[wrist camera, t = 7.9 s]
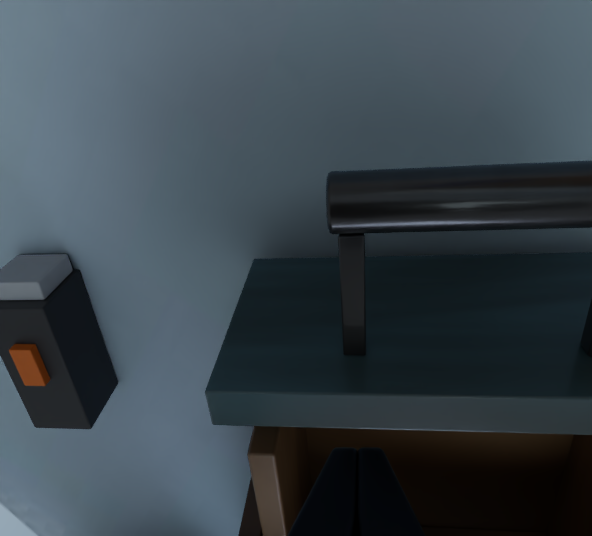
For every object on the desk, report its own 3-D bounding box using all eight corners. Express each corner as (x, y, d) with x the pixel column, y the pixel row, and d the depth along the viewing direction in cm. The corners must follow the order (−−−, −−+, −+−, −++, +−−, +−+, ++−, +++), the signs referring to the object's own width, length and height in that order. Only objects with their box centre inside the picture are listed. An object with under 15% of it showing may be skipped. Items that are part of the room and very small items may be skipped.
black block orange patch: (118, 383, 24) (86, 437, 21) (67, 382, 24) (29, 435, 21) (73, 251, 20) (28, 295, 17) (14, 253, 20) (-40, 296, 18)
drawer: (234, 122, 16) (161, 209, 10) (701, 95, 14) (946, 182, 8) (288, 508, 25) (267, 666, 20) (569, 521, 24) (638, 701, 18)
